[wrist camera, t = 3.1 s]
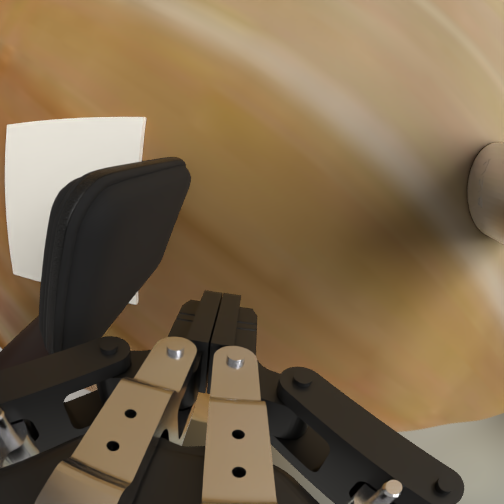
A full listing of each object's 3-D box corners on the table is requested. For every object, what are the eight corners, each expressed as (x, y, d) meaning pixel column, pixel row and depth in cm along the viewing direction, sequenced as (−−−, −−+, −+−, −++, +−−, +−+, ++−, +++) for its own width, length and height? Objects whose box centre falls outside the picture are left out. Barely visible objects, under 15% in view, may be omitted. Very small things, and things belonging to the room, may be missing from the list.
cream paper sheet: (146, 117, 21) (143, 117, 21) (138, 301, 27) (136, 304, 26) (10, 124, 21) (7, 124, 21) (16, 272, 27) (13, 274, 26)
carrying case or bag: (158, 280, 26) (74, 401, 12) (128, 266, 25) (27, 371, 12) (203, 164, 22) (109, 195, 8) (168, 149, 22) (40, 164, 8)
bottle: (43, 323, 29) (-60, 437, 10) (60, 286, 27) (-72, 412, 8) (86, 361, 30) (1, 494, 11) (109, 329, 28) (4, 486, 9)
